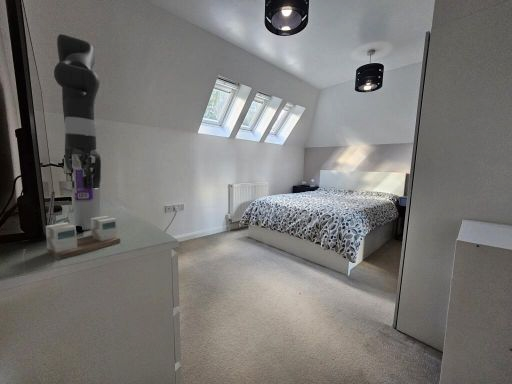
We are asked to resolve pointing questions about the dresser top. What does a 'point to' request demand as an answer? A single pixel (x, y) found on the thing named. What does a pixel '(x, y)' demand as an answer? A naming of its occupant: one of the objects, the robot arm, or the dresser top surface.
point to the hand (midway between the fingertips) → (83, 187)
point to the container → (80, 183)
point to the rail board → (67, 244)
